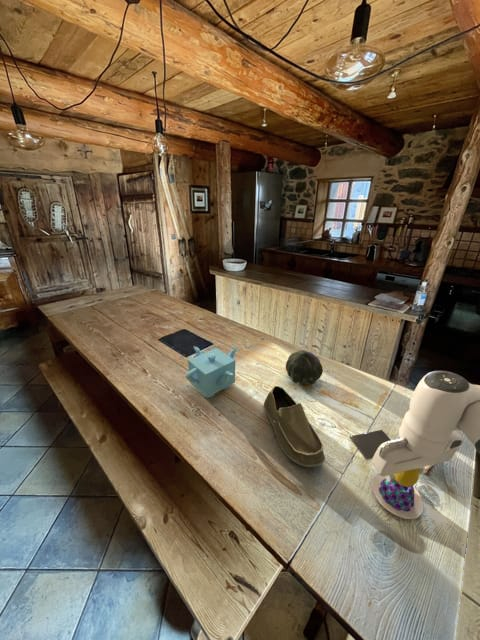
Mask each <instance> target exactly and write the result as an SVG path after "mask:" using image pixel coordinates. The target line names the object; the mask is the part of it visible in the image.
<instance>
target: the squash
mask: <svg viewBox="0 0 480 640" xmlns="http://www.w3.org/2000/svg"><path fill="white" fill-rule="evenodd" d="M285 370H286V373H287V376H288V377H289V378H290V379H291V382H292V383H293V384H299V385H300V386H306V385H309V386H310V385H314V384H315V383H316V382H317V381H318V380H319V379H320V378H321V377H322V376H323V372H324V369H323V365H322V363H321V361H320V359H319V357H318V356H317V355H315V354H314V353H313V352H311V351H307V350H305V349H301V350H300V349H299V350H298V351H295V352H292V353H291V354H290V355H289V356H288V358H287V360H286V363H285Z"/></svg>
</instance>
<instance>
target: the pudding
mask: <svg viewBox="0 0 480 640" xmlns="http://www.w3.org/2000/svg"><path fill="white" fill-rule="evenodd" d="M371 491H372V492H373V495H374V497H375V499H376V500H377V501H378V502H379V504H380V505H381V506H382V507H383V508H384V509H385V510H386V511H388V512H389V513H391V514H392V515H394V516H396V517H399V518H401V519H406V520H414V519H417V518H419V517H420V516H421V515H422V513H423V512H424V502H423V499H422V496H421V494H420V493H419V491H418V489H417V488H416V487H415V485H413V486H410V487H406V486H403V485H401V484H399V483H398V482H397V481H396V480H395V481H392V482H388V481H387V480H386V479H385V477H383V476H381V475H380V474H379V473H378V472H377V473H376V474H375V475H374V476H373V477H372V479H371Z"/></svg>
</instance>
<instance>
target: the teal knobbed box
mask: <svg viewBox="0 0 480 640" xmlns="http://www.w3.org/2000/svg"><path fill="white" fill-rule="evenodd" d="M193 350H194V351H195V355H196V356H194V357H191V358H190V359H188V360H187V365H188V372H186V374H185V378H186V380H187V381H189V383H190V384H191V385H192V386H193V387H194V388H195V389H197V391H198V392H200V394H202V395H203V396H204V397H205V398H213V397H214V396H215V394H217V393H219V392H220V391H222V390H227V389H229V387H230V386H231V385H233V384H235V383H236V360H235V359H234V358H235V354H236V352H237V351H238V350H239V347H237V346H236V347H233V348H232V349H231V350H230V351H229V354H227V353H225V352H224V351H222V350H221V349H220V348H218V347H216V348H213V349H211V350H209V351H206V352H204V353H202V351H201V349H200V348H199V347H198V346H196V345H193Z"/></svg>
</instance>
